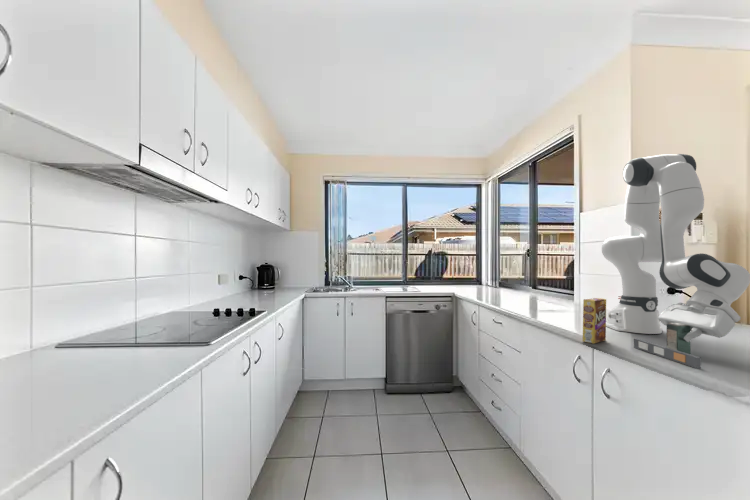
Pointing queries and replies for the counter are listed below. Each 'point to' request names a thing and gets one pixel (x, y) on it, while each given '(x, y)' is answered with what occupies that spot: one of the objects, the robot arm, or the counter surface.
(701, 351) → the counter surface
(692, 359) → the rail
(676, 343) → the tea tin
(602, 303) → the candy box
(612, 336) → the counter surface
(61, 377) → the counter surface
